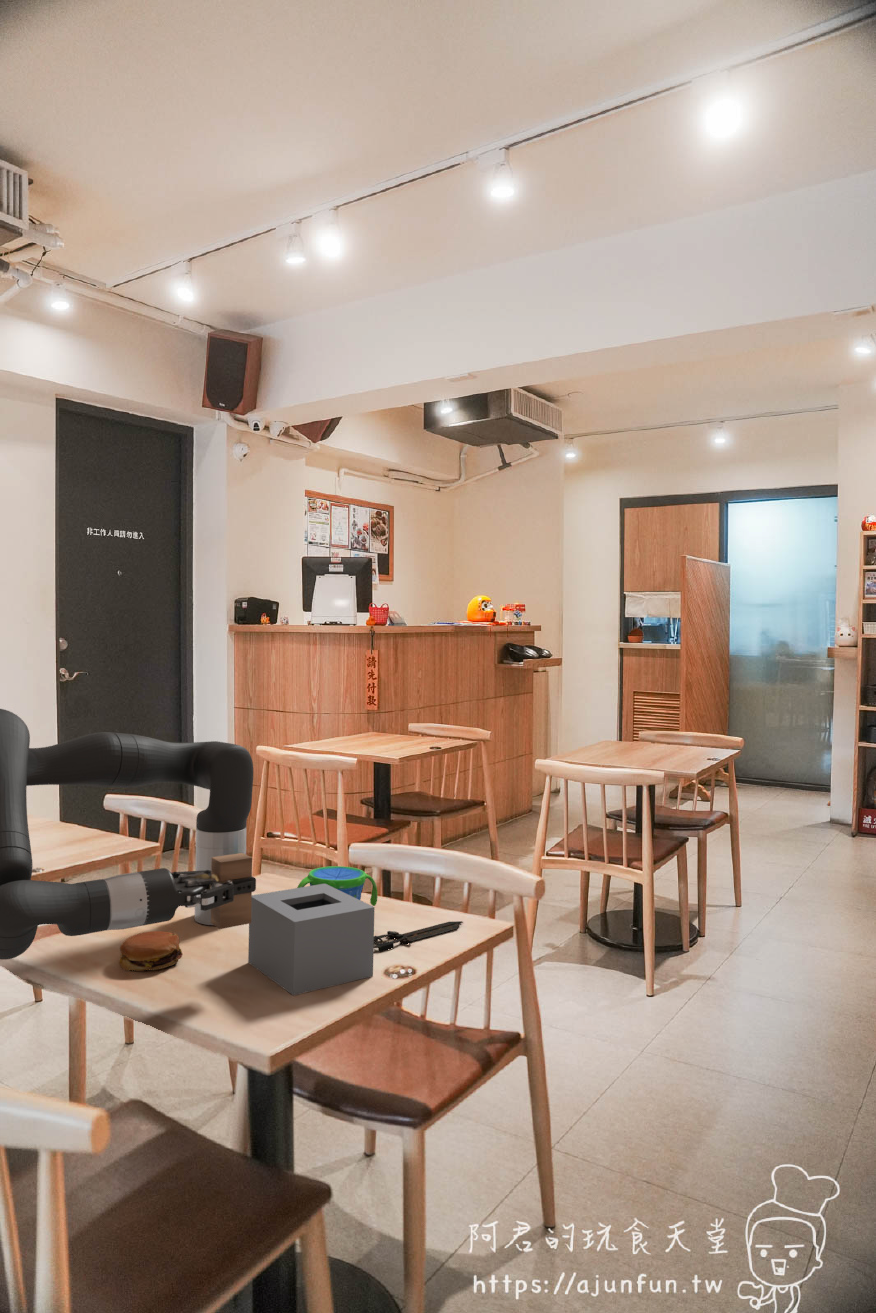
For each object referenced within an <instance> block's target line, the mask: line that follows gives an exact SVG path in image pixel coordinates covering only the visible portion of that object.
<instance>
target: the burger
mask: <svg viewBox="0 0 876 1313" xmlns="http://www.w3.org/2000/svg"><path fill="white" fill-rule="evenodd" d="M119 951H120V954H119V960H118V961H119V965H120V967H121V969H123V970H124V969H125V970H124V971H128V970H132V971H131V972H140V971H141V972H144V970H147V971H158V970H162V969H165V968H169V967H171V966H174V965H175V964H177V963H179V960H181V959H182V958H183V952H182V948H181V947H180V938H179V936H178V934H177V933H175V932H174V933H173V932H170V931H169V932H168V931H161V930H153V931H144V932H140V933H137V934H134V935H130V936H129V937H128V938H126V939H125V940H124V941H123V942H122V943H121V944H120V947H119ZM133 970H134V971H133ZM135 970H136V971H135Z"/></svg>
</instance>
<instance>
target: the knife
mask: <svg viewBox="0 0 876 1313" xmlns="http://www.w3.org/2000/svg"><path fill="white" fill-rule="evenodd" d="M463 923H464V921H463V920H461V921H459V920H457V921H446V922H442V923H438V924H436V925H431V926H427V927H423V928H419V929H416V930H412V931H408V932H405V933H400V932H398V931H394V930H393V931H391V930H388V931H386V932H387V933H386V934H382V935H374V949H377V950H378V952H377V953H383V952H386V951H389V950H388V949H391V948H393V949H394V944H396V943H399V945H401V944H402V945H403V944H408V943H411V944H413V943H412V942H413V941H417V940H421V939H426V938H428V937H431V936H432V937H433V936H435V935H439V934H443V933H447V932H449V931H454V930H457V929H458V928H459V926H460V925H461V924H463ZM383 938H388V940H389V939H393V940H389V941H384V940H383ZM394 938H395V939H394ZM396 939H397V940H396ZM378 941H380V942H378ZM379 943H380V944H379ZM391 950H392V949H391Z"/></svg>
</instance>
